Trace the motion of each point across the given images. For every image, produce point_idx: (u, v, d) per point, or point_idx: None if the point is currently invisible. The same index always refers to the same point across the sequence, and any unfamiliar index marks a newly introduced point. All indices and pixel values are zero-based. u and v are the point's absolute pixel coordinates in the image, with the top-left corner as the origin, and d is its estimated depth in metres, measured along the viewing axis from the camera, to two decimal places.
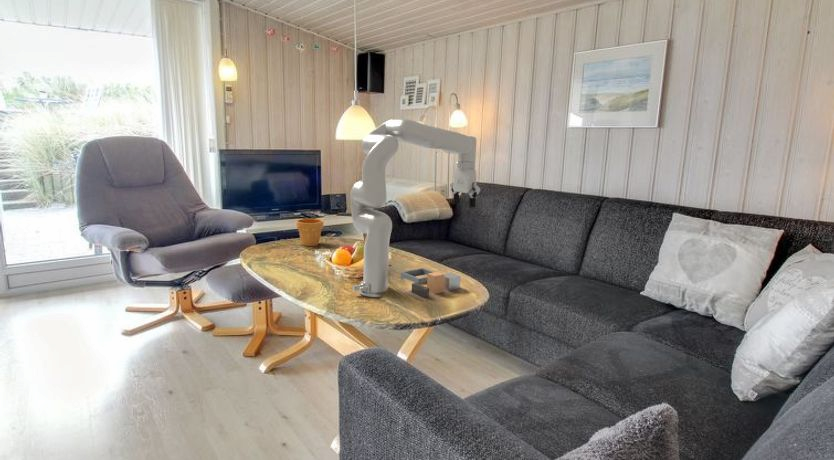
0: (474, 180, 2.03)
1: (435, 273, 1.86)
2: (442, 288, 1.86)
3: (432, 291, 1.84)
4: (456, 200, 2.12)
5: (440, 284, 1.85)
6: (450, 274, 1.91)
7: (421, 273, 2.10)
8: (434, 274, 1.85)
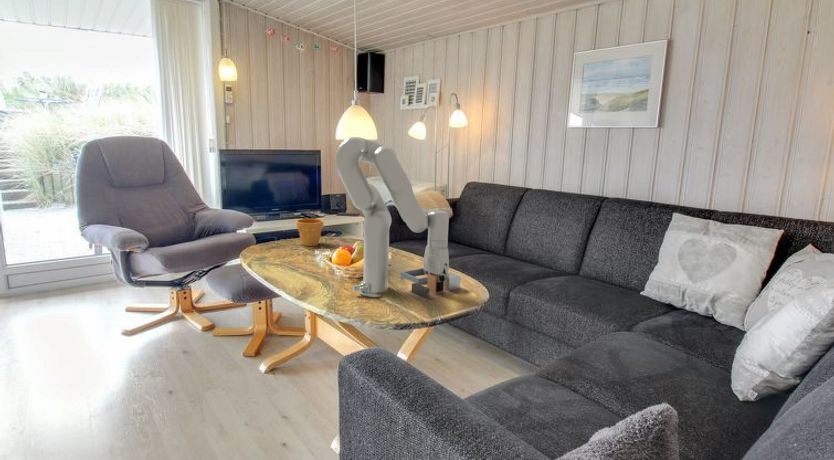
0: (446, 261, 1.80)
1: None
2: None
3: (432, 291, 1.84)
4: None
5: None
6: (450, 274, 1.91)
7: (421, 273, 2.10)
8: (434, 274, 1.84)
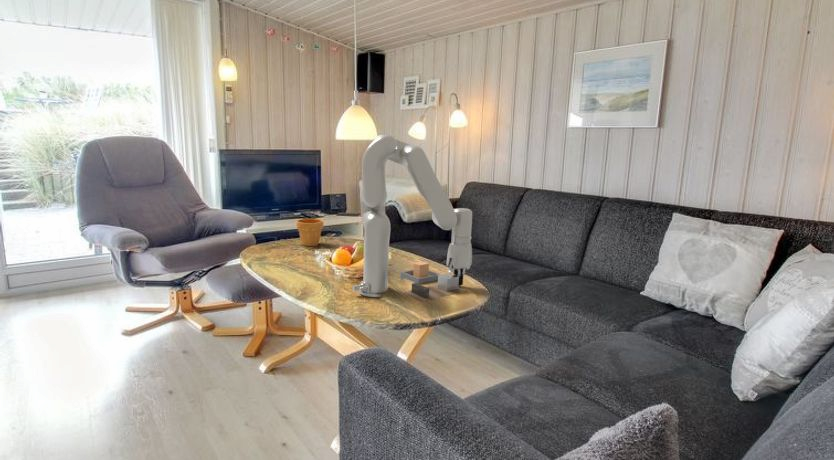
0: (451, 256, 1.88)
1: (420, 262, 2.03)
2: (427, 276, 2.03)
3: None
4: None
5: (425, 273, 2.02)
6: (448, 274, 1.91)
7: None
8: (419, 263, 2.02)
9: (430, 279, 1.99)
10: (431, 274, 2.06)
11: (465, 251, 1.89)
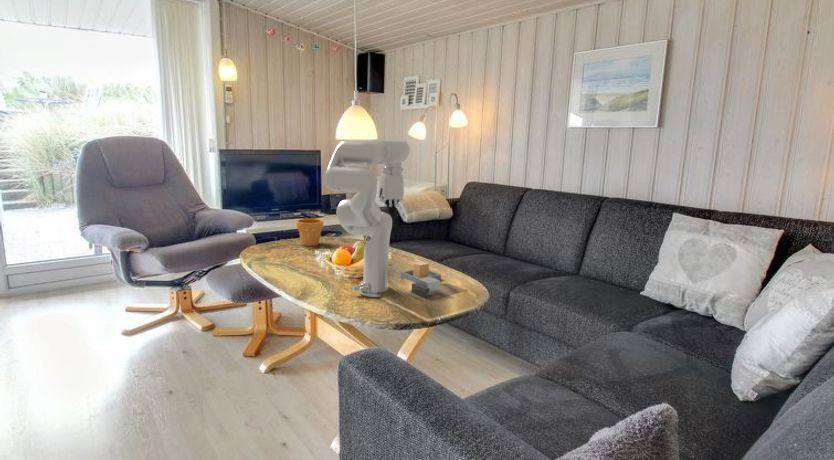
0: (382, 186, 1.95)
1: (420, 262, 2.03)
2: (427, 276, 2.03)
3: None
4: None
5: (425, 273, 2.02)
6: (429, 278, 1.85)
7: None
8: (419, 263, 2.02)
9: None
10: (431, 274, 2.06)
11: (396, 182, 1.96)
